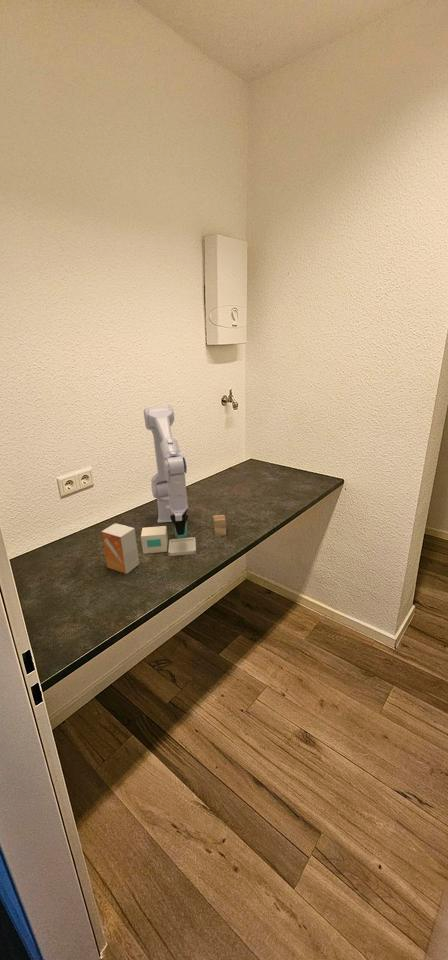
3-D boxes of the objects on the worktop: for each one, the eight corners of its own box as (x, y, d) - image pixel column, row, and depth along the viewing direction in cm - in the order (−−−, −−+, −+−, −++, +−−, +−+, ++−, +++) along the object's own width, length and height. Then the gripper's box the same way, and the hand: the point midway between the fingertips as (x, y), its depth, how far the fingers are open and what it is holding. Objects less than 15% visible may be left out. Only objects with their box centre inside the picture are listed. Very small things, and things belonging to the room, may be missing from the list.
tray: (169, 542, 137) (169, 539, 136) (195, 540, 138) (195, 537, 137) (168, 556, 128) (168, 553, 128) (196, 553, 129) (196, 550, 129)
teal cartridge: (176, 532, 133) (174, 516, 131) (188, 531, 133) (186, 515, 131) (174, 538, 129) (173, 521, 127) (187, 537, 129) (185, 521, 127)
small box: (106, 568, 124) (100, 531, 119) (121, 558, 129) (115, 522, 124) (126, 574, 120) (120, 536, 115) (140, 564, 125) (135, 527, 120)
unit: (144, 544, 137) (142, 527, 134) (168, 542, 137) (166, 525, 135) (142, 554, 130) (140, 536, 128) (167, 552, 131) (165, 534, 129)
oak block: (214, 530, 144) (213, 515, 142) (225, 529, 144) (224, 514, 142) (215, 535, 140) (214, 520, 138) (226, 534, 140) (225, 519, 138)
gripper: (165, 485, 132) (169, 522, 137) (163, 503, 119) (168, 542, 124) (186, 484, 133) (189, 520, 138) (187, 501, 119) (190, 540, 124)
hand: (180, 531), depth 131 cm, fingers closed on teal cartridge, 4 cm apart
